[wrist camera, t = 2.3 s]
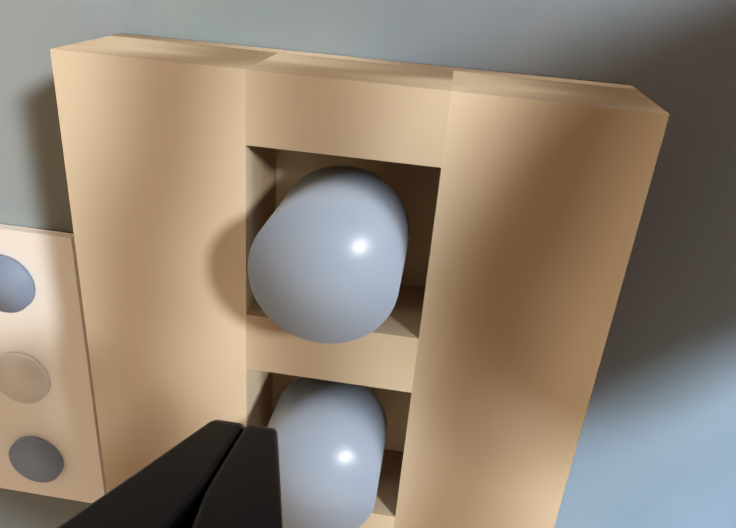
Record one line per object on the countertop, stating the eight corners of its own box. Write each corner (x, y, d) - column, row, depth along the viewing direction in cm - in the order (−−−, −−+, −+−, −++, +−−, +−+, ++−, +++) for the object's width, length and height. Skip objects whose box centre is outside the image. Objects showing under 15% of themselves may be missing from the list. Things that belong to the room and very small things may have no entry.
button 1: (417, 174, 14) (407, 215, 12) (402, 295, 15) (392, 353, 13) (281, 158, 14) (246, 195, 12) (278, 279, 16) (247, 332, 13)
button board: (632, 85, 15) (669, 114, 12) (499, 616, 22) (504, 707, 20) (120, 33, 16) (50, 49, 13) (164, 558, 23) (125, 636, 21)
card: (76, 233, 18) (67, 240, 18) (110, 499, 23) (102, 510, 22) (-70, 214, 19) (-83, 221, 18) (-10, 479, 23) (-19, 489, 22)
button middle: (392, 382, 16) (381, 448, 14) (382, 472, 18) (370, 546, 16) (277, 365, 17) (247, 428, 14) (274, 455, 18) (247, 525, 16)
